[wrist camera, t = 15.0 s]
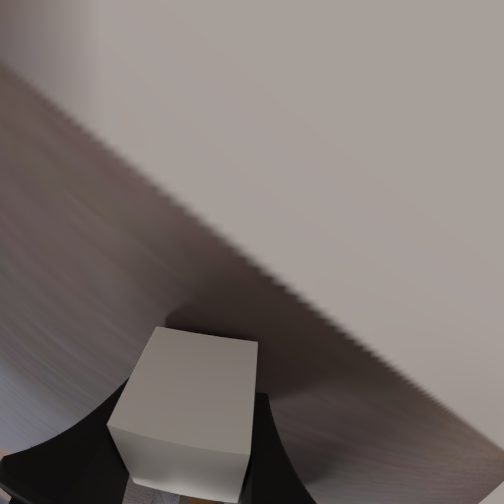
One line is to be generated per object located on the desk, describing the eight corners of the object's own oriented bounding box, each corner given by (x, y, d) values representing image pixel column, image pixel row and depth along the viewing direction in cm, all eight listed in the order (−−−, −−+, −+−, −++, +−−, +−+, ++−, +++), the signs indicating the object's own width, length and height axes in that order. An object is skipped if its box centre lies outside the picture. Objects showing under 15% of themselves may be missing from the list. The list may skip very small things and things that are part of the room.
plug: (228, 504, 19) (222, 551, 14) (181, 496, 19) (171, 542, 14) (258, 341, 11) (250, 454, 7) (156, 326, 11) (107, 424, 7)
